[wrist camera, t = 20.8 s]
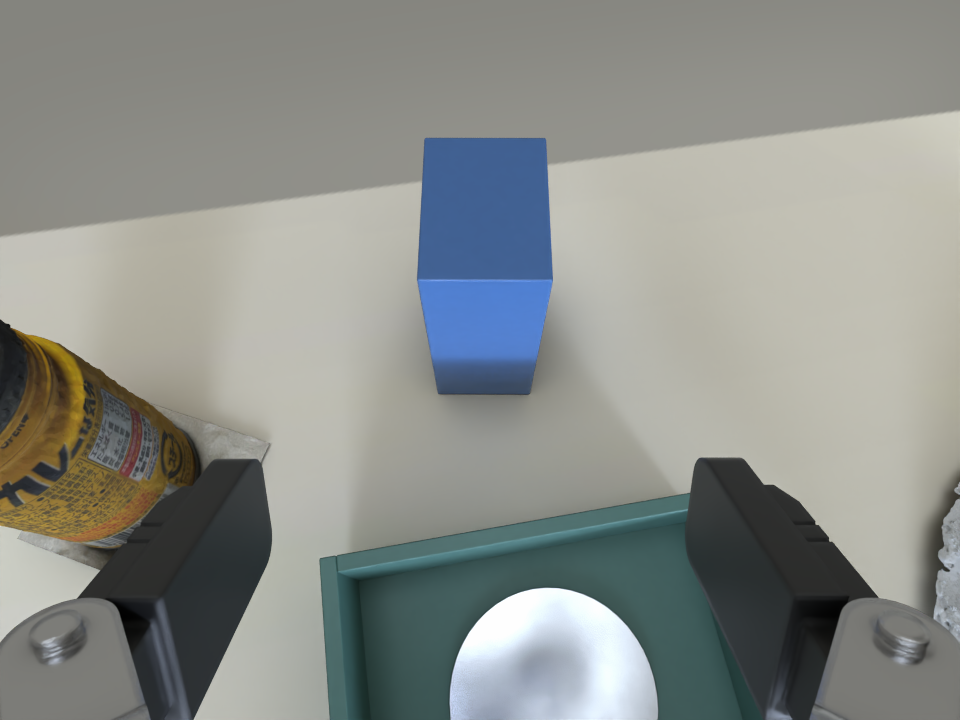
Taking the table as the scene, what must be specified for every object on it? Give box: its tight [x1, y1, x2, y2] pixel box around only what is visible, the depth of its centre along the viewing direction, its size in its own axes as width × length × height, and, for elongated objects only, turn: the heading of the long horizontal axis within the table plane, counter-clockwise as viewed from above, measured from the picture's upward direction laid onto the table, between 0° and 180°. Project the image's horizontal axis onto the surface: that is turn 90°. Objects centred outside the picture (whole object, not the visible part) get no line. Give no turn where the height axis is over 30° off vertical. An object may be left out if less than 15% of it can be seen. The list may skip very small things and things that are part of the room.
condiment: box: [0, 320, 270, 570], centre depth 22 cm, size 7×8×12 cm
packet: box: [417, 138, 553, 394], centre depth 26 cm, size 4×6×10 cm
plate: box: [449, 587, 659, 720], centre depth 24 cm, size 8×8×1 cm
